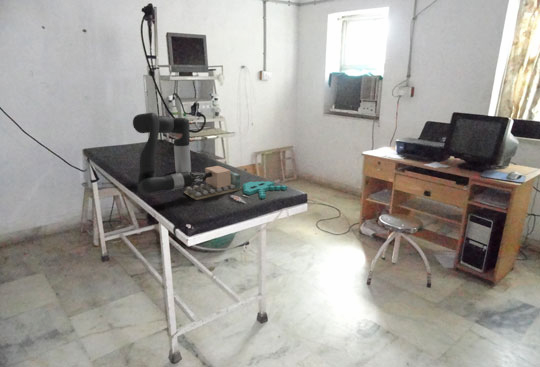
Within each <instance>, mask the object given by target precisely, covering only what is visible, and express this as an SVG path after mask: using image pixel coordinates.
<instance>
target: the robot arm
mask: <svg viewBox="0 0 540 367" xmlns="http://www.w3.org/2000/svg"><path fill="white" fill-rule="evenodd" d="M132 126H133V128H134V130H135V131H136V132H137V133H138V134H149V135H148V139H147V141H146V144H145V145H144V147H143V149H142V150H141V152H140V154H139V174H138V179H137V191H138V192H139V194H140V195H141V196H149V195H151V194H153V193H156V192H163V191H166V192H167V191H171V190H178V189H183V188H187V187H191V186H192V184H193V183H198V182H199V183H200V184H203V183H204V182H206V178H208V177H212V173H210V172H208V173H205V172H200V171H198V172H197V171H194V172H193V171H192V162H191V151H190V150H191V149H190V148H191V147H190V146H191V145H190V140H191V139H190V138H191V136H190V127H191V126H190V121H189V119H188V118H186V117H172V118H171V117H169V116H166V115H158V114H157V113H155V112H145V113H139V114H136V115H135V116H134V117H133V120H132ZM169 133H171V134H172V133H173V134H179V135H180V134H181V137H179V138H177V139H176V138H175V139H174V140H173V151H174V165H175V166H174V168H175V173H171V174H168V175H162V176H154V174H155V173H156V152H157V151H156V150H157V146H158V142H159V141H158V139H159V135H160V134H169Z"/></svg>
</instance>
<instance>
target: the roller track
mask: <svg viewBox="0 0 540 367" xmlns="http://www.w3.org/2000/svg"><path fill="white" fill-rule="evenodd" d="M230 176H231V185H230V186H225V187H221V188H216V187H214V186H212V185H210V184H208V183H206V184H203V183H200V185H196V184H195V185H193V186H192V187H191V186H188V187H185V190H184V191H183V192H184V194H186V195H187V196H189V197H190V198H192V199H194V200H196V201H199V200H203V199H207V198H212V197H215V196H220V195H224V194H228V193H233V192H236V191H240V190H243V187H241V174H239V173H237V172H234V171H231V170H230Z"/></svg>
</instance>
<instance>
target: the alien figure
mask: <svg viewBox="0 0 540 367" xmlns="http://www.w3.org/2000/svg"><path fill="white" fill-rule="evenodd" d="M287 189H288V185H284V184H283V185H275V182H272V181H269V180H267V181H263V180H261V181H258V180H257V181H249V182H248V181H247V182H245V183H242V192H243V193H242V194H245V195H249V196H251V195H253V194H256V193H258V196H259V199H261V198H262V199H266V198H267V196H266V195H267V193H266V192H267V191H269V190H270V191H275V190H276V191H280V190H282V191H286V190H287ZM262 199H261V200H262Z"/></svg>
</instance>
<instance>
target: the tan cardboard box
mask: <svg viewBox="0 0 540 367" xmlns="http://www.w3.org/2000/svg"><path fill="white" fill-rule="evenodd" d="M204 169H205V171H204V173H208V172H210V173H212V177H208V178H206V180H205V183H206V184H207V183H208V184H210V185H212V186H214V187H216V188H221V187H225V186H230V185H231V176H230V171H231V170H230V169H227V168H225V167H222V166H220V165H215V166H210V167H209V166H208V167H205V168H204Z"/></svg>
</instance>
